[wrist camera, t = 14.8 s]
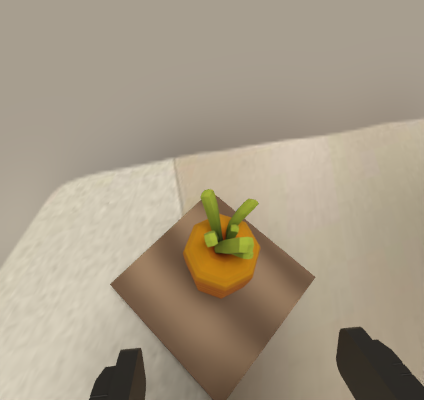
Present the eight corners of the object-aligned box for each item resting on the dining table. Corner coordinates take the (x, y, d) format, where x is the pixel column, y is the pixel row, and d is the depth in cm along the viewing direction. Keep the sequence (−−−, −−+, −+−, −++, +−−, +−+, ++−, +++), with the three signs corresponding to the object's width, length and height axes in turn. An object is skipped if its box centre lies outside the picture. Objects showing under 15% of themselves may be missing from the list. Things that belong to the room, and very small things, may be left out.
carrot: (189, 258, 27) (175, 177, 14) (238, 256, 28) (270, 173, 14) (190, 312, 25) (175, 275, 12) (244, 308, 25) (289, 268, 12)
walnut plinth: (209, 203, 34) (210, 191, 31) (305, 283, 30) (315, 277, 27) (118, 289, 29) (110, 284, 26) (218, 400, 25) (220, 407, 22)
